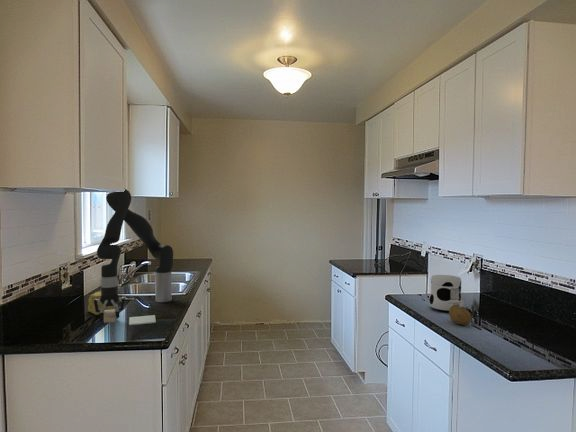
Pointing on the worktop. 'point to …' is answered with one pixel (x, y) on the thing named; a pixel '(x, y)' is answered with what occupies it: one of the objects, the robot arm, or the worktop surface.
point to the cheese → (91, 303)
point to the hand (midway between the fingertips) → (109, 319)
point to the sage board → (142, 320)
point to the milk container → (445, 292)
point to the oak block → (109, 316)
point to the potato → (460, 315)
